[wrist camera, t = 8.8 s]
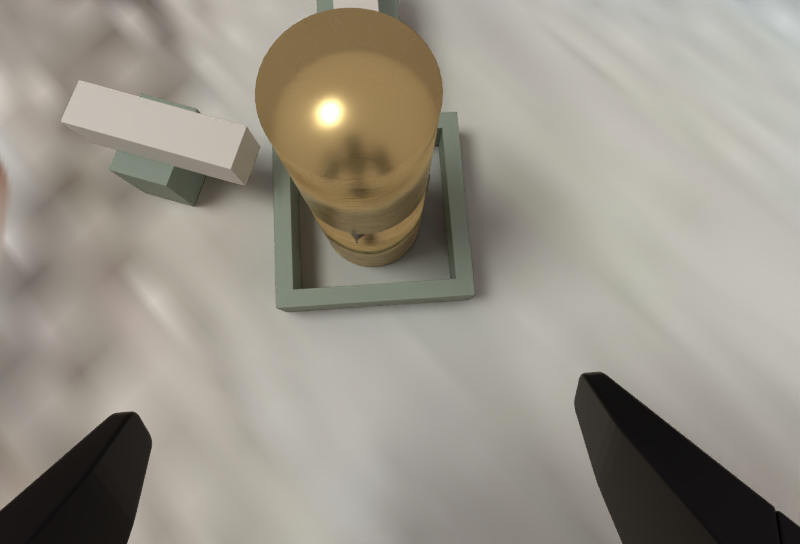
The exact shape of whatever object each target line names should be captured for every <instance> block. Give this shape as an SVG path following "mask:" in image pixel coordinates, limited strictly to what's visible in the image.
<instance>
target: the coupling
mask: <svg viewBox="0 0 800 544" xmlns="http://www.w3.org/2000/svg"><path fill="white" fill-rule="evenodd" d="M442 96H443V88H442V78H441V74H440V70H439V67H438V64H437V62H436V59H435V57H434V55H433V54H432V52H431V50H430V48H429V47H428V46H427V44H426V43H425V42H424V40H423V39H422V38H421V37H420V36H419V35H418V34H417V33H416V32H415V31H414V30H412V29H411V28H410V27H408V26H407V25H406V24H404V23H403V22H401V21H399V20H397V19H396V18H394V17H391V16H389V15H387V14H384V13H381V12H378V11H374V10H369V9H363V8H337V9H332V10H326V11H323V12H320V13H316V14H314V15H311V16H309V17H307V18H304V19H303V20H301V21H299V22H298V23H296V24H294V25H293V26H292V27H290V28H289V29H288V30H286V31H285V32H284V33H283V34H282V35H281V36H280V37H279V38H278V39H277V40H276V41H275V42H274V44H273V45H272V46H271V47H270V49H269V51H268V52H267V54H266V56H265V57H264V59H263V62H262V64H261V66H260V69H259V72H258V76H257V80H256V88H255V103H256V109H257V114H258V117H259V120H260V123H261V126H262V128H263V130H264V132H265V134H266V136H267V137H268V139H269V141H270V142H271V144H272V146H273V148H274V149H275V151H276V153H277V154H278V156H279V158H280V159H281V161H282V163H283V164H284V166H285V168H286V169H287V171H288V173H289V175H290V176H291V178H292V180H293V181H294V183H295V185H296V186H297V188H298V190H299V191H300V193H301V195H302V197H303V198H304V200H305V202H306V203H307V205H308V206H309V208H310V210H311V212H312V213H313V215H314V217H315V218H316V220H317V222H318V224H319V225H320V227H321V229H322V230H323V232H324V234H325V235H326V237H327V239H328V240H329V242H330V244H331V245H332V247H333V248H334V249H335V251H336V252H337V253H338V254H339V255H341V256H342V257H343V258H345V259H346V260H348V261H350V262H352V263H354V264H357V265H361V266H367V267H376V266H383V265H386V264H389V263H392V262H394V261H396V260H397V259H399V258H400V257H402V256H403V255H404V254H405V253H406V252H407V251H408V250H409V249H410V248H411V246H412V245H413V243H414V242H415V240H416V238H417V235H418V232H419V227H420V221H421V216H422V210H423V205H424V199H425V194H426V192H427V189H428V184H429V178H430V174H429V172H430V166H431V161H432V155H433V150H434V144H435V139H436V133H437V128H438V122H439V117H440V111H441V106H442Z"/></svg>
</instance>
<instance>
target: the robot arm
mask: <svg viewBox="0 0 800 544" xmlns="http://www.w3.org/2000/svg"><path fill="white" fill-rule="evenodd" d="M574 405H575V411H576V414H577V418H578V421H579V424H580V428H581V431H582V434H583V438H584V441H585V444H586V448H587V451H588V455H589V458H590V461H591V465H592V468H593V471H594V474H595V477H596V480H597V483H598V486H599V488H600V491H601V494H602V496H603V498H604V501H605V503H606V506H607V508H608V510H609V513H610V515H611V517H612V520H613V522H614V524H615V527H616V529H617V532H618V534H619V536H620V539H621V541H622V543H623V544H800V527H799V526H798V525H797V524H796V523H794V522H793V521H792V520H790V519H789V518H788V517H787V516H785V515H784V514H783V513H782V512H780V511H776V510H775V508H774V506H772V505H771V504H770V503H769V502H767V501H766V500H765V499H764V498H762V497H761V496H760V495H758V494H757V493H756V492H755V491H753V490H752V489H751V488H750V487H748V486H747V485H746V484H744V483H743V482H742V481H741V480H739V479H738V478H737V477H736V476H734V475H733V474H732V473H730V472H729V471H728V470H727V469H725V468H724V467H723V466H722V465H720V464H719V463H718V462H716V461H715V460H714V459H713V458H711V457H710V456H709V455H708V454H706V453H705V452H704V451H703V450H701V449H700V448H699V447H697V446H696V445H695V444H694V443H692V442H691V441H690V440H689V439H687V438H686V437H685V436H683V435H682V434H681V433H680V432H678V431H677V430H676V429H675V428H673V427H672V426H671V425H669V424H668V423H667V422H666V421H664V420H663V419H662V418H661V417H659V416H658V415H657V414H655V413H654V412H653V411H652V410H650V409H649V408H648V407H647V406H645V405H644V404H643V403H642V402H640V401H639V400H638V399H636V398H635V397H634V396H633V395H631V394H630V393H629V392H628V391H626V390H625V389H624V388H622V387H621V386H620V385H619V384H617V383H616V382H615V381H614V380H612V379H611V378H610V377H608V376H607V375H606V374H604V373H602V372H590V373H583V374H582V375H581V376H580V378H579V382H578V386H577V391H576V395H575V400H574ZM151 448H152V439H151V436H150V434H149V432H148V430H147V428H146V427H145V425H144V423H143V422H142V420H141V418H140V417H139V415H138V414H137V413H135V412H132V411H131V412H120V413H114V414H112V415H111V416H109V417H108V418H107V419H106V420H104V421H103V422H102V423H101V424H100V425H99V426H97V427H96V428H95V429H94V430H93V431H92V432H91V433H89V434H88V435H87V436H86V437H85V438H84V439H83V440H81V441H80V442H79V443H78V444H77V445H76V446H74V447H73V448H72V449H71V450H70V451H69V452H68V453H66V454H65V455H64V456H63V457H62V458H61V459H59V460H58V461H57V462H56V463H55V464H54V465H53V466H51V467H50V468H49V469H48V470H47V471H46V472H44V473H43V474H42V475H41V476H40V477H39V478H38V479H36V480H35V481H34V482H33V483H32V484H31V485H29V486H28V487H27V488H26V489H25V490H24V491H23V492H21V493H20V494H19V495H18V496H17V497H16V498H14V499H13V500H12V501H11V502H10V503H9V504H8V505H6V506H5V507H4V508H3V509H2V510H1V511H0V544H127V542H128V539H129V536H130V533H131V530H132V527H133V524H134V520H135V516H136V513H137V508H138V504H139V500H140V496H141V491H142V487H143V483H144V478H145V474H146V470H147V465H148V461H149V457H150V453H151Z"/></svg>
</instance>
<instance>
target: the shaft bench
mask: <svg viewBox="0 0 800 544" xmlns="http://www.w3.org/2000/svg"><path fill="white" fill-rule="evenodd" d="M337 8H363V9H369V10H374V11H378V12H381V13H384V14H387V15H389V16H391V17H394V18H396V19H397V20H399V14H398V1H397V0H317V13H320V12H323V11H326V10H332V9H337ZM61 122H62V123H63V124H65V125H66V126H68V127H69V128H71V129H72V130H73V131H75V132H76V133H78V134H79V135H81V136H82V137H83V138H85V139H86V140H88V141H89V142H91V143H94V144H97V145H101V146H104V147H108V148H111V149H115V150H117V152H116V154H115V157H114V159H113V161H112V164H111V166H110V168H109V170H110V171H112V172H113V173H115V174H116V175H118V176H119V177H121V178H122V179H124V180H126V181H127V182H129V183H130V184H132V185H133V186H135V187H136V188H138V189H140V190H141V191H143V192H145V193H148V194H152V195H155V196H159V197H162V198H166V199H169V200H173V201H176V202H180V203H183V204H187V205H190V206H195V203H196V200H197V198H198V195H199V193H200V190H201V187H202V185H203V182H204V180H205V177H206V175H207V176H211V177H214V178H218V179H221V180H225V181H229V182H232V183H236V184H239V185H243V186H246V185H247V182H248V179H249V176H250V174H251V171H252V168H253V165H254V163H255V160H256V157H257V154H258V152H259V149H260V146H259V145H258V143H257V142H256V140H255V139H254V137H253V135H252V134H251V132H250V131H249V129H248V128H247V126H243V125H240V124H236V123H232V122H229V121H225V120H222V119H218V118H214V117H211V116H207V115H203V114H201V113H200V112H199V111H198V110H197V109H196V108H192V107H189V106H185V105H181V104H178V103H174V102H171V101H167V100H163V99H160V98H156V97H152V96H149V95H145V94H142V93H141V95H140V97H138V96H135V95H131V94H127V93H124V92H120V91H117V90H113V89H109V88H106V87H102V86H98V85H95V84H91V83H88V82H84V81H80V80H79V82H78V84H77V86H76V88H75V91H74V93H73V95H72V97H71V99H70V102H69V104H68V106H67V108H66V111H65V113H64V115H63V117H62V119H61ZM434 146H439V155H440V166H441V177H442V189H443V200H444V211H445V222H446V234H447V245H448V256H449V267H450V278H451V279H445V280H430V281H415V282H400V283H385V284H370V285H354V286H339V287H324V288H309V289H301V262H300V231H299V199H298V188H297V186H296V185H295V183H294V181H293V180H292V178H291V176H290V175H289V173H288V171H287V169H286V168H285V166H284V164H283V163H282V161H281V159H280V158H279V156H278V154H277V153H276V151H275V149H274V148H273V146H272V150H273V196H274V241H275V286H276V308H277V309H280V310H282V311H285V312H292V311H307V310H322V309H336V308H351V307H366V306H381V305H396V304H410V303H425V302H440V301H455V300H468V299H470V298H471V297H472V296H474V295H475V291H474V281H473V270H472V260H471V250H470V240H469V230H468V219H467V209H466V199H465V189H464V178H463V168H462V158H461V148H460V138H459V127H458V117H457V112H446V113H440V117H439V122H438V128H437V133H436V139H435V144H434Z"/></svg>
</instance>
